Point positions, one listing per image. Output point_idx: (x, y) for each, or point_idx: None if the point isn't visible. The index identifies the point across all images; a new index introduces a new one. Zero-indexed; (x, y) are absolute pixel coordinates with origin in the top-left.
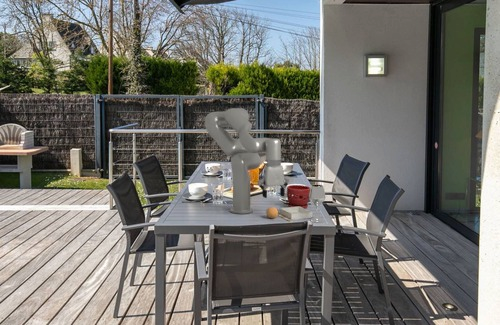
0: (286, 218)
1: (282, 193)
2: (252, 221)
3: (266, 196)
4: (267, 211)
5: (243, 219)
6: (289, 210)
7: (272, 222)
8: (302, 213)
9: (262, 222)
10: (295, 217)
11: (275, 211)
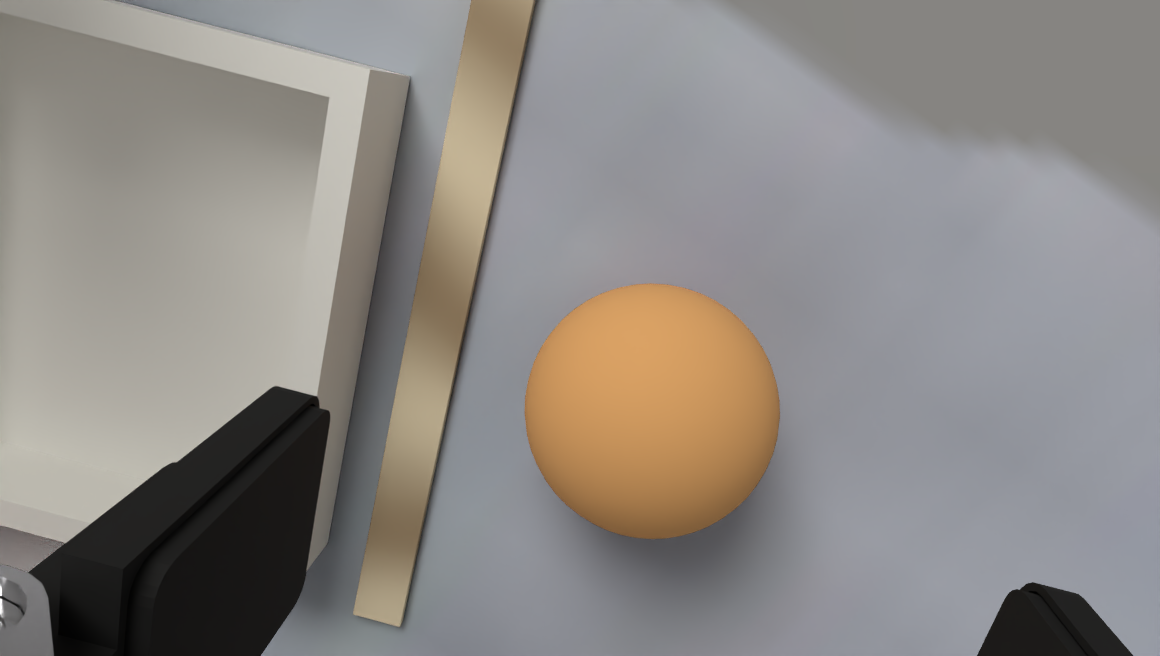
0: (458, 176)
1: (280, 478)
2: (1098, 410)
3: (1065, 611)
4: (774, 444)
5: (1112, 604)
6: (125, 496)
7: (855, 131)
8: (108, 3)
9: (1009, 245)
10: (311, 52)
11: (660, 309)
